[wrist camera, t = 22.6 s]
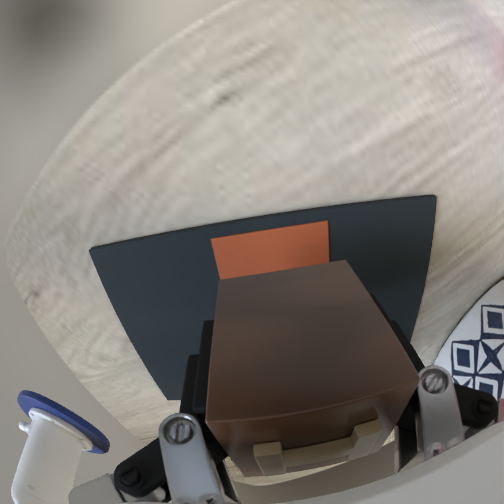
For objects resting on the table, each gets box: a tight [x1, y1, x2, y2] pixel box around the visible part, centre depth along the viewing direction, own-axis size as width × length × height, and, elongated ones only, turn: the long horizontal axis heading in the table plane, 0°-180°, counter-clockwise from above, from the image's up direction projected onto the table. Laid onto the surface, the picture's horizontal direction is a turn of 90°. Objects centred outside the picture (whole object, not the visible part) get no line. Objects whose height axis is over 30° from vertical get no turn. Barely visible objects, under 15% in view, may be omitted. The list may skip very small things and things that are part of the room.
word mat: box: [89, 195, 437, 400], centre depth 16 cm, size 20×14×1 cm
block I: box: [205, 260, 420, 477], centre depth 8 cm, size 5×5×6 cm
